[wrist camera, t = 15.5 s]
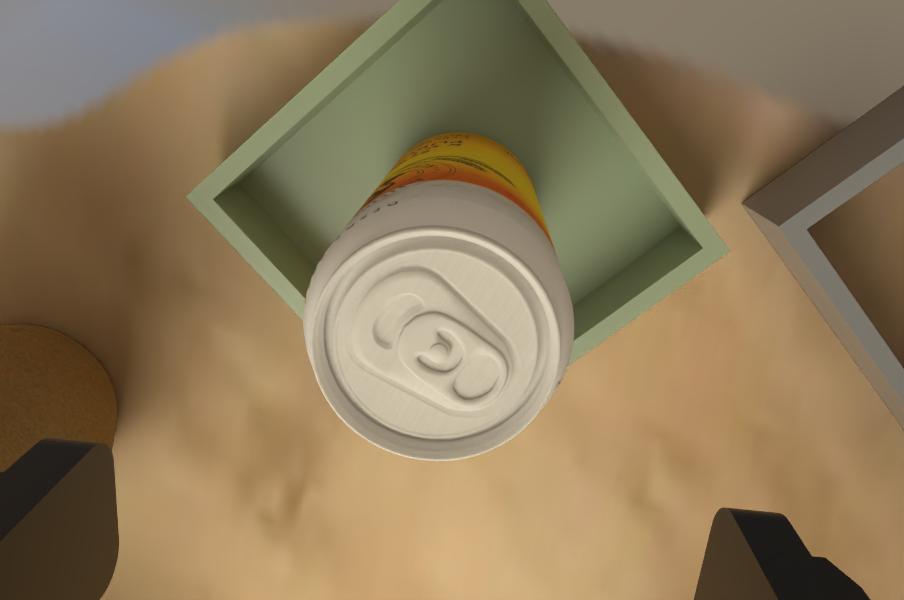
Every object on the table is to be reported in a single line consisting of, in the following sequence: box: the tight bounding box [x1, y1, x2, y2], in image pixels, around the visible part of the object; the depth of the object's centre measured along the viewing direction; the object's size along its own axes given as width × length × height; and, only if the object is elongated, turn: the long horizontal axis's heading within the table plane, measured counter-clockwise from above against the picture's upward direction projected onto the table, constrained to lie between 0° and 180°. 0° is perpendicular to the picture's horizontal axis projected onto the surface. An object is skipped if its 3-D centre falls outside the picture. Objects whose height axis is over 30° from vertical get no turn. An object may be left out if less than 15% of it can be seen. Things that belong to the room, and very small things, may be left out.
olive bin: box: [186, 0, 730, 367], centre depth 28 cm, size 14×14×4 cm
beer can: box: [303, 132, 574, 461], centre depth 23 cm, size 6×6×15 cm
